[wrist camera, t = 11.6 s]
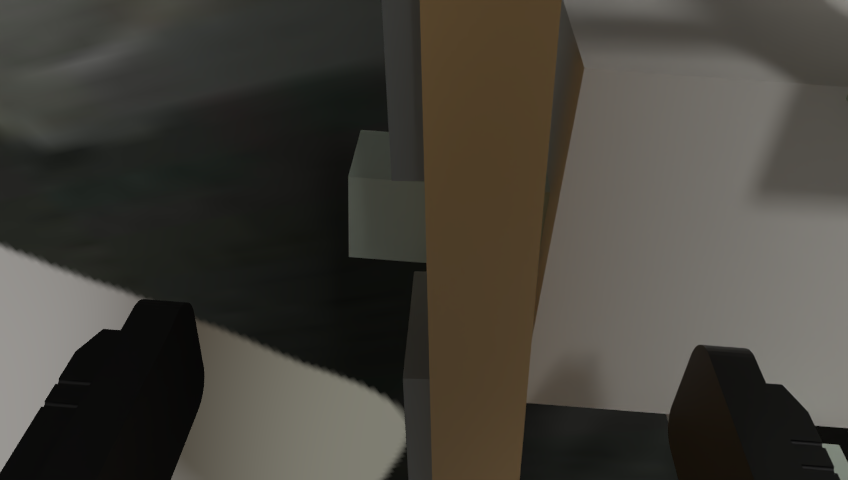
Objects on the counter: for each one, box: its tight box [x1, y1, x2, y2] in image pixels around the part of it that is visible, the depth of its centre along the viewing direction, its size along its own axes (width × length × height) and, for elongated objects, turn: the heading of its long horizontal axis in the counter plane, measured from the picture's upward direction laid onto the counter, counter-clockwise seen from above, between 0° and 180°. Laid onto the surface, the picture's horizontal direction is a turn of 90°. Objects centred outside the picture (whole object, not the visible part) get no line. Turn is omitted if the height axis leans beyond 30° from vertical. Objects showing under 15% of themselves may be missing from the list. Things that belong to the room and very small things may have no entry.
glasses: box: [381, 0, 562, 480], centre depth 12 cm, size 16×14×4 cm
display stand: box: [348, 0, 848, 480], centre depth 19 cm, size 20×15×15 cm
